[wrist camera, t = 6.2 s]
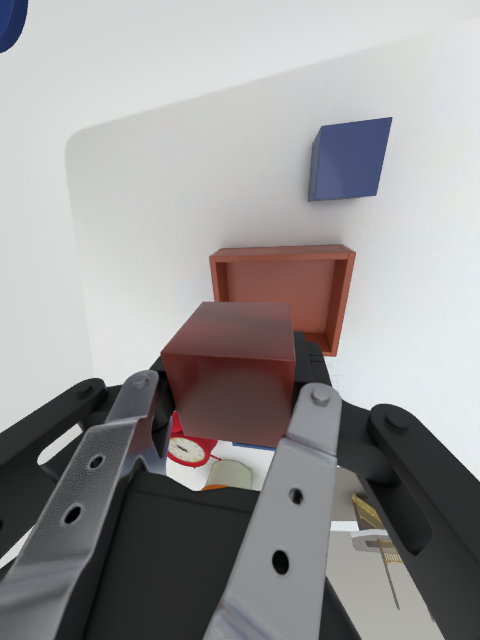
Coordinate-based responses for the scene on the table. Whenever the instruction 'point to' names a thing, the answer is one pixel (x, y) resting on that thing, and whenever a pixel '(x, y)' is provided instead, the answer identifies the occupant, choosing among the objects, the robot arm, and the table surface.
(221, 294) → the terracotta bin
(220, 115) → the table surface
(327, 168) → the navy block
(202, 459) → the alarm clock
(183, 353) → the red block
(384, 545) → the architectural model
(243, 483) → the reusable coffee cup
